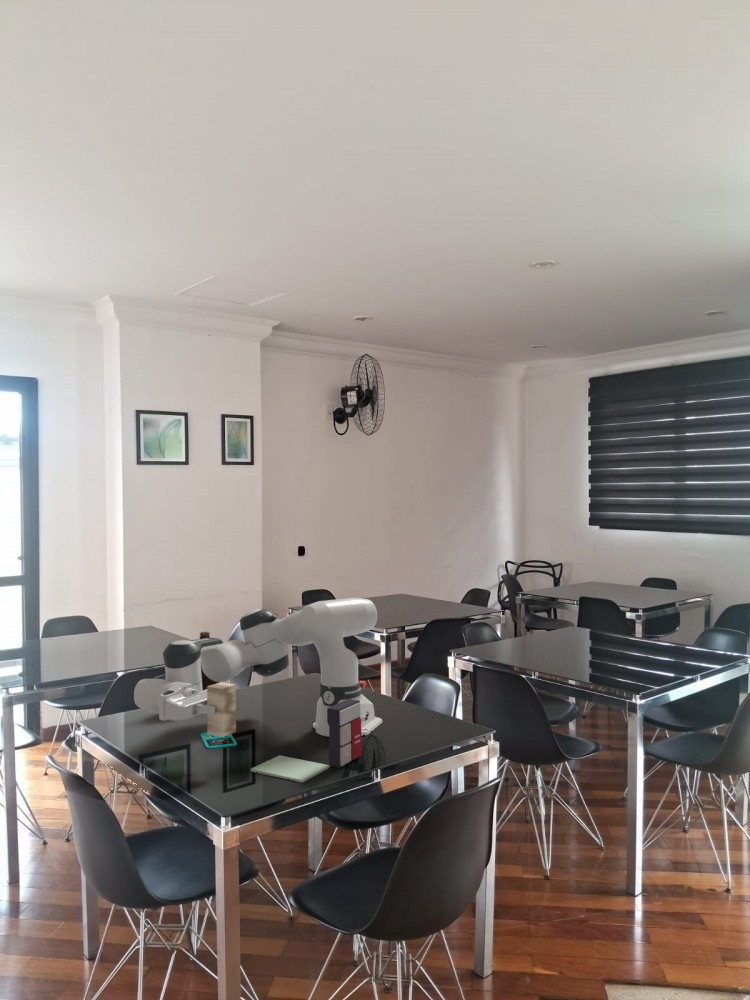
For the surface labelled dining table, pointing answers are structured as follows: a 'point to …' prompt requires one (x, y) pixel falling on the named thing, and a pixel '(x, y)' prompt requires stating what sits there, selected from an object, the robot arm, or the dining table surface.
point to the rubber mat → (290, 768)
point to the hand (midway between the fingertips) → (224, 707)
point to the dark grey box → (344, 732)
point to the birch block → (222, 709)
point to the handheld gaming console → (211, 738)
